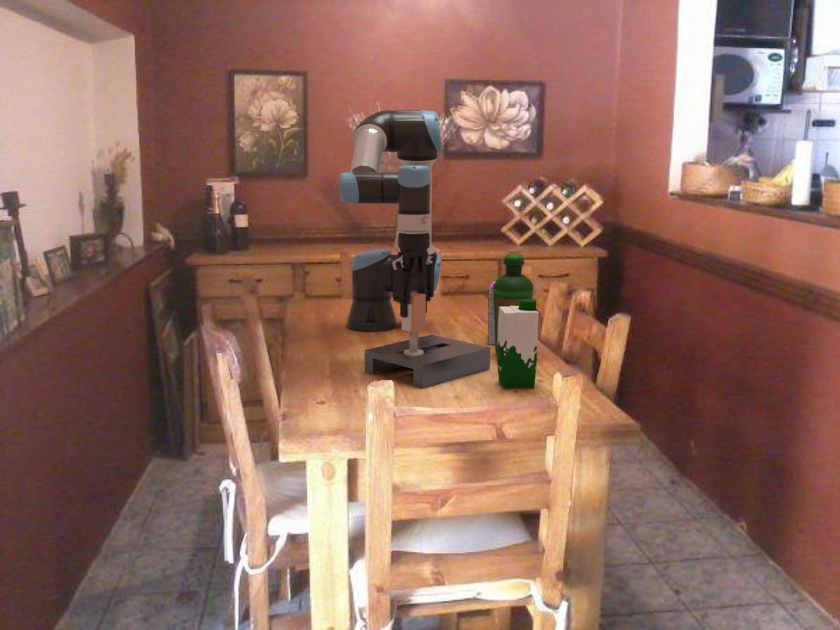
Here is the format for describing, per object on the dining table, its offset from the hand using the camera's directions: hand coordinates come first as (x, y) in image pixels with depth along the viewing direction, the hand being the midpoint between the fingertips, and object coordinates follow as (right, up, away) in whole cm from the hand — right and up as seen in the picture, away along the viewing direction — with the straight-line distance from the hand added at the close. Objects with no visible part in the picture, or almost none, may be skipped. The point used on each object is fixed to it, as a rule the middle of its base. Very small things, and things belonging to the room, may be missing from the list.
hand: (413, 328), depth 203 cm
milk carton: (+24, -13, -6) cm, 28 cm away
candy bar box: (+24, -4, +37) cm, 44 cm away
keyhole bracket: (+3, -10, +6) cm, 12 cm away
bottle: (+26, -8, +21) cm, 34 cm away
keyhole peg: (0, -7, +2) cm, 8 cm away
